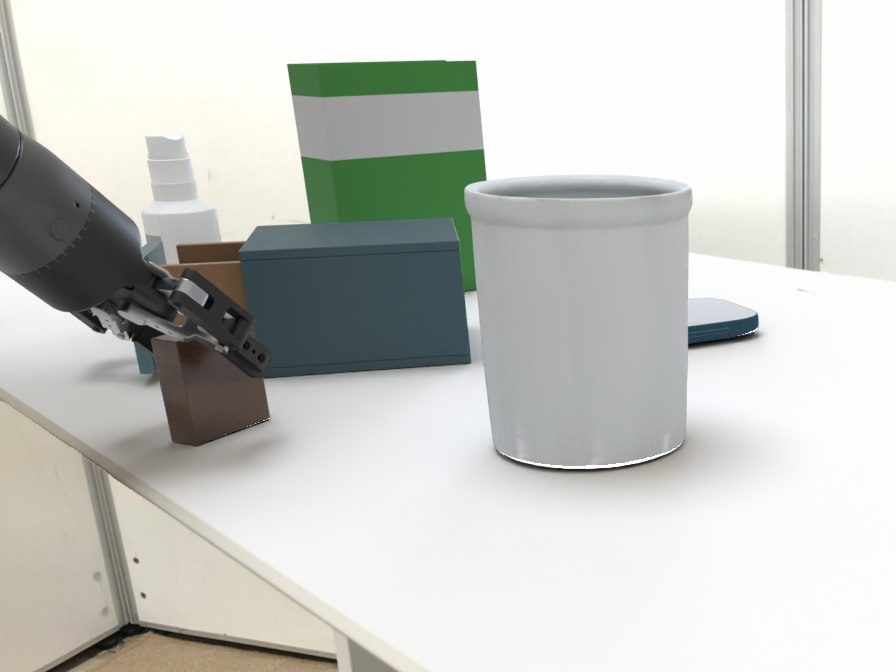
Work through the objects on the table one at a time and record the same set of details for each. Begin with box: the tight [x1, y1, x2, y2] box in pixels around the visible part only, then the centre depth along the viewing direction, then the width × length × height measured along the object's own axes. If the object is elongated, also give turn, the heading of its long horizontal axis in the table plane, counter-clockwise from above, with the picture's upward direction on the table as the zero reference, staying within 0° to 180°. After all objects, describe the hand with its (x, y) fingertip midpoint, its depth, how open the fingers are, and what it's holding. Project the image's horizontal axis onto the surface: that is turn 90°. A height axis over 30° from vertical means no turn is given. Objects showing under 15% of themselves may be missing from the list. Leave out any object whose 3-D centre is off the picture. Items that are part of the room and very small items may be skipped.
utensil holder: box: [464, 174, 693, 466], centre depth 82 cm, size 15×15×18 cm
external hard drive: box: [688, 297, 760, 345], centre depth 112 cm, size 24×12×2 cm, turn 120°
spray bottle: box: [140, 133, 223, 265], centre depth 118 cm, size 7×7×18 cm
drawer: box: [88, 240, 249, 375], centre depth 105 cm, size 21×13×9 cm, turn 105°
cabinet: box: [238, 217, 472, 379], centre depth 108 cm, size 18×15×11 cm
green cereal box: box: [286, 59, 488, 292], centre depth 130 cm, size 18×7×24 cm, turn 131°
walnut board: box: [151, 324, 271, 447], centre depth 86 cm, size 2×7×8 cm, turn 155°
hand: (220, 361), depth 87 cm, fingers open, 8 cm apart
